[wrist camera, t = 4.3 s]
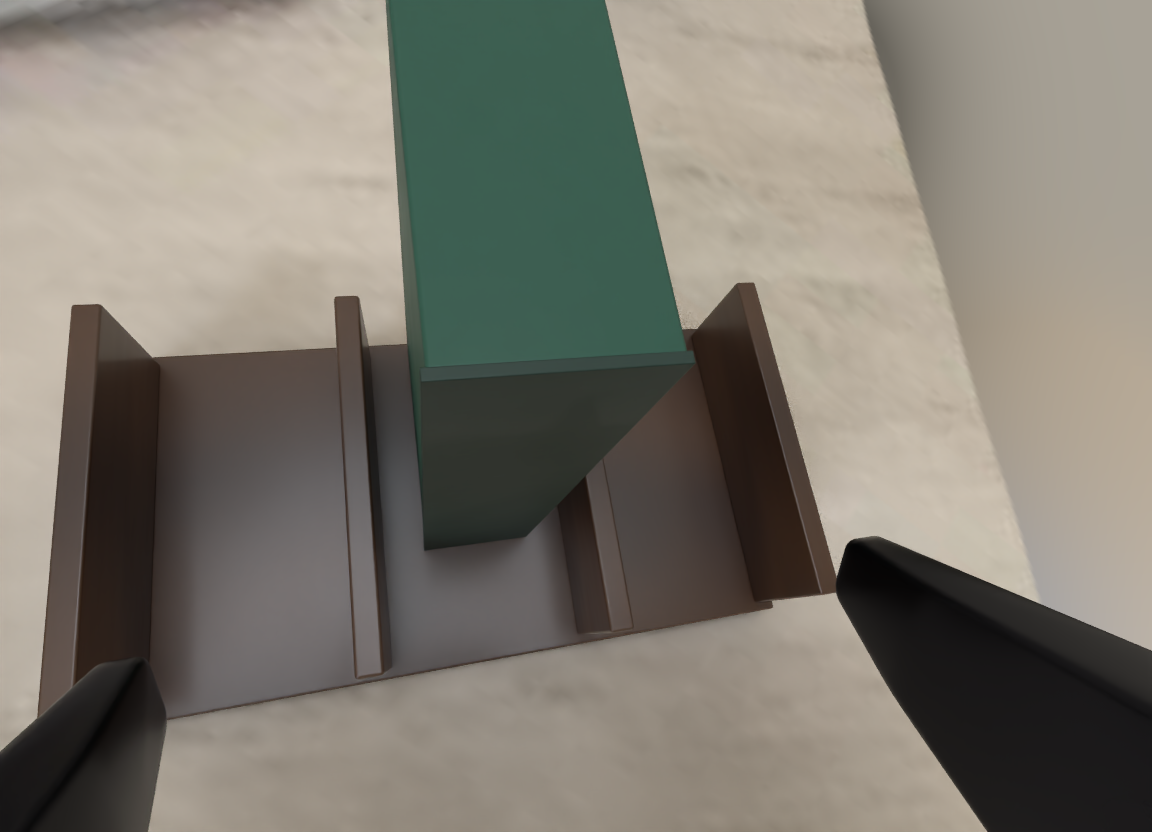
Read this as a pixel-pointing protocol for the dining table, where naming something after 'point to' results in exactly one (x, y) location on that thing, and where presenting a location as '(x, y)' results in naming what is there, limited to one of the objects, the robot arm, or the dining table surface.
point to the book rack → (392, 519)
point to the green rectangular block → (522, 257)
